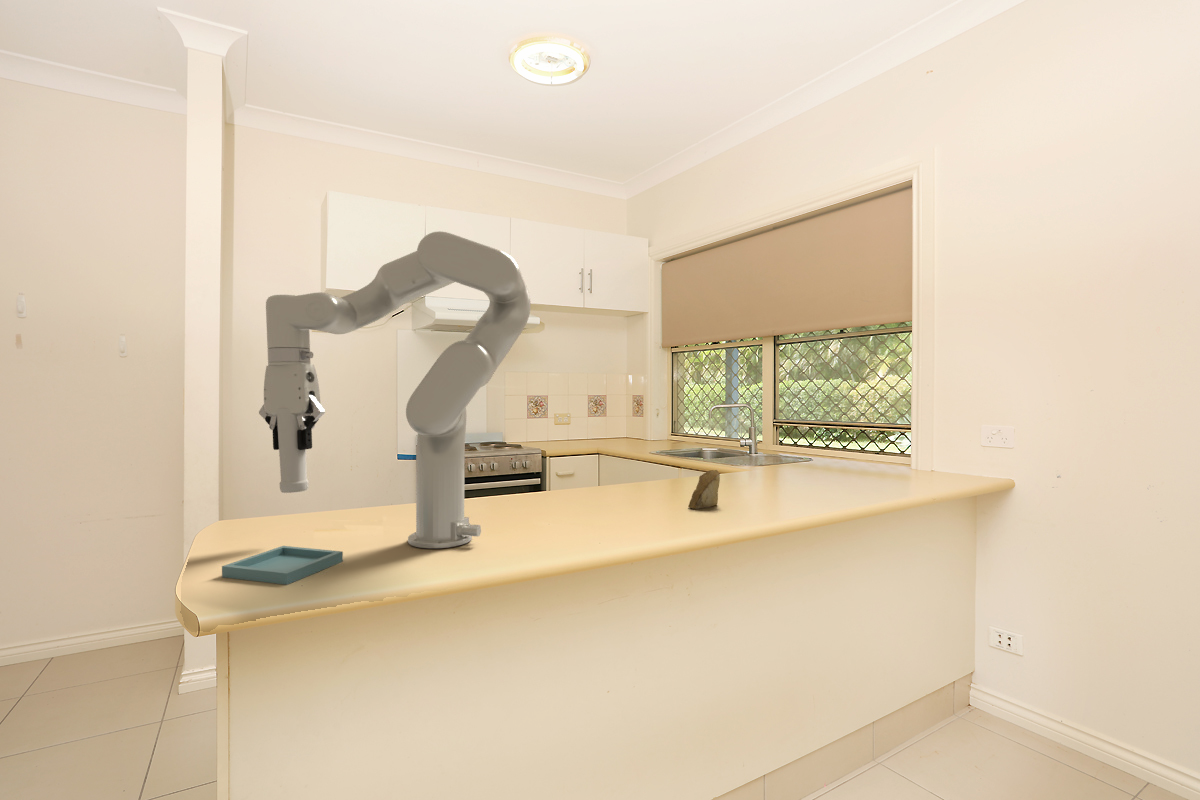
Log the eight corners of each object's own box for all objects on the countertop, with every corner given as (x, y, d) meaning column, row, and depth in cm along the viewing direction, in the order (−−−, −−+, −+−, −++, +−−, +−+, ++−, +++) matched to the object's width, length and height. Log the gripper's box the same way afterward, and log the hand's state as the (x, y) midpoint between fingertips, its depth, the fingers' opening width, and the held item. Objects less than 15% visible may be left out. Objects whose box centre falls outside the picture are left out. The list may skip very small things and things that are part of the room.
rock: (695, 503, 151) (730, 496, 154) (683, 474, 156) (717, 467, 159) (684, 521, 160) (717, 513, 163) (673, 492, 164) (705, 486, 167)
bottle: (279, 494, 116) (274, 365, 115) (280, 490, 120) (275, 366, 120) (309, 491, 118) (304, 365, 117) (308, 487, 123) (303, 366, 122)
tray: (342, 561, 107) (342, 551, 107) (287, 584, 95) (287, 573, 95) (283, 555, 111) (283, 545, 111) (222, 577, 98) (221, 566, 98)
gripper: (338, 357, 120) (342, 447, 120) (269, 360, 124) (272, 446, 125) (311, 356, 113) (315, 451, 113) (238, 359, 117) (242, 451, 118)
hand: (292, 448), depth 119 cm, fingers closed on bottle, 5 cm apart
